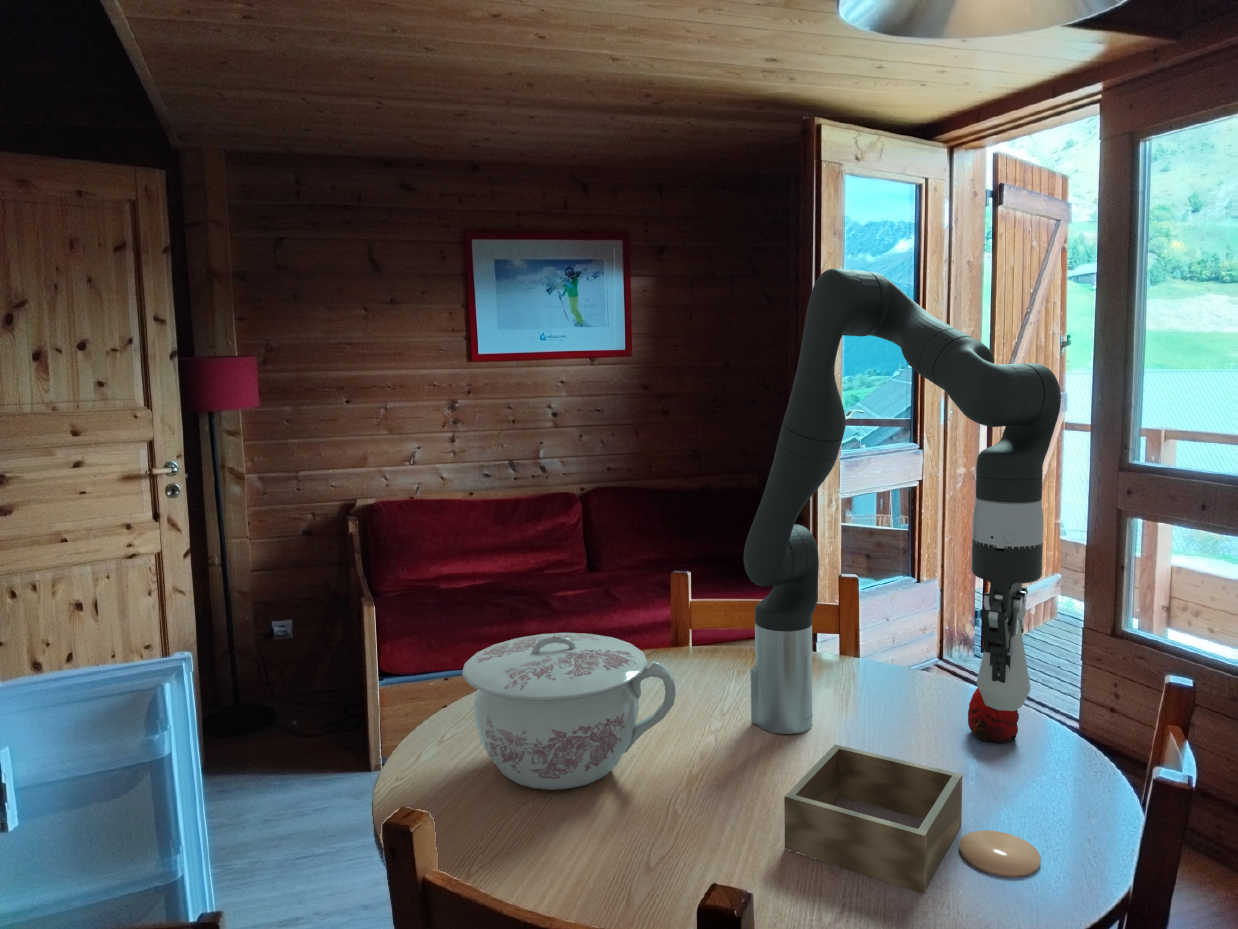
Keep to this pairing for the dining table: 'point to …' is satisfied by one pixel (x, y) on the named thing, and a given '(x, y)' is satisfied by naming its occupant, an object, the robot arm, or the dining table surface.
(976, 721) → the red clay folk toy
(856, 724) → the dining table surface
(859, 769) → the walnut box
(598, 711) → the chamber pot
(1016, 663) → the salt shaker
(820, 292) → the robot arm
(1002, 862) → the tan round coaster
